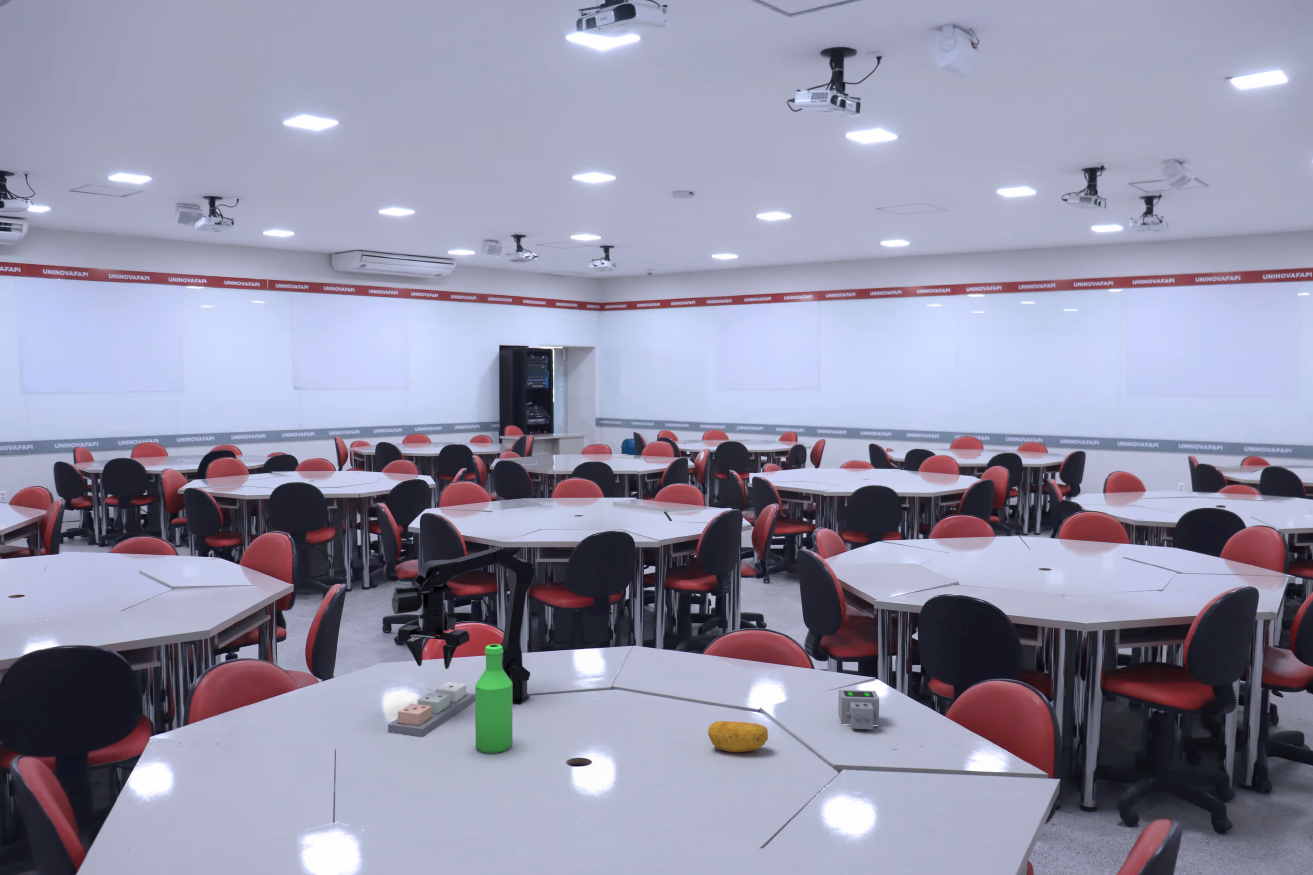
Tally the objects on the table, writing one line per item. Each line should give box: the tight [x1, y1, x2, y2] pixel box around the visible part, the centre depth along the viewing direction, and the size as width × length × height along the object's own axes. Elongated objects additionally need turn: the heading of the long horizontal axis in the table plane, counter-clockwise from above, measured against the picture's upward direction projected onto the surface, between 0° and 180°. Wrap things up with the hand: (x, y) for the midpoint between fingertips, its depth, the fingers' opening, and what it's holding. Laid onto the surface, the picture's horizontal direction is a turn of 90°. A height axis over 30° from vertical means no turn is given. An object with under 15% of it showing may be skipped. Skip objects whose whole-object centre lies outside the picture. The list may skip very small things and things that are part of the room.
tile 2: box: [417, 692, 450, 714], centre depth 229 cm, size 6×6×3 cm
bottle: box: [474, 643, 513, 754], centre depth 208 cm, size 9×9×25 cm
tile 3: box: [397, 703, 432, 726], centre depth 220 cm, size 6×6×3 cm
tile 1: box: [435, 681, 467, 703], centre depth 238 cm, size 6×6×3 cm
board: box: [387, 692, 475, 737], centre depth 229 cm, size 10×27×2 cm, turn 163°
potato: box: [707, 720, 769, 753], centre depth 208 cm, size 7×14×7 cm, turn 81°
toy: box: [837, 689, 880, 730], centre depth 226 cm, size 10×8×15 cm
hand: (433, 667), depth 229 cm, fingers open, 8 cm apart
